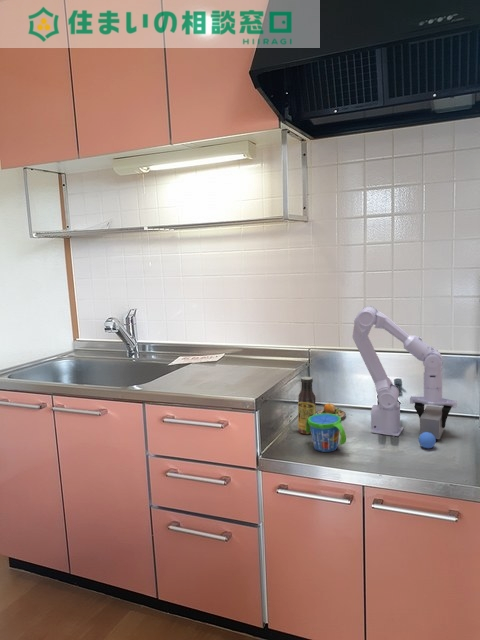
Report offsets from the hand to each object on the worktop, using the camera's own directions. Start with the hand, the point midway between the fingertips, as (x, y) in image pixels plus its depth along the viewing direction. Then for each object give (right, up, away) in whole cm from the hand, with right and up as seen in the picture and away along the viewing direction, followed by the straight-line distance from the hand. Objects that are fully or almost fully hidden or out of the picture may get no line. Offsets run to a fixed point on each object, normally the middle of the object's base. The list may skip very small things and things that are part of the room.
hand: (433, 425), depth 166 cm
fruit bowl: (-30, -2, +23) cm, 38 cm away
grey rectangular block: (0, -2, 0) cm, 2 cm away
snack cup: (-37, -6, -5) cm, 38 cm away
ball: (-6, -2, -10) cm, 12 cm away
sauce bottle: (-41, -5, +10) cm, 42 cm away
